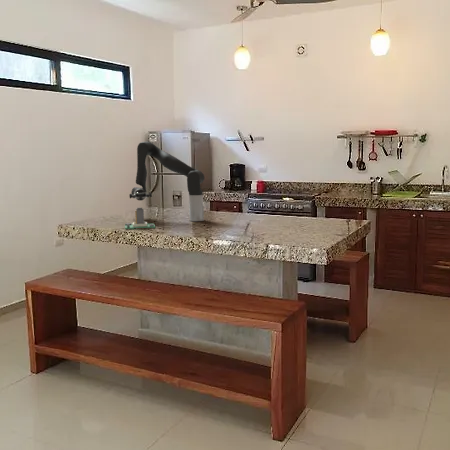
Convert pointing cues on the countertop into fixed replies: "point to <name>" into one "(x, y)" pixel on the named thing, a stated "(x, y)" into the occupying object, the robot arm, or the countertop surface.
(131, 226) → the mount board
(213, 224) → the countertop surface
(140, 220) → the plug
